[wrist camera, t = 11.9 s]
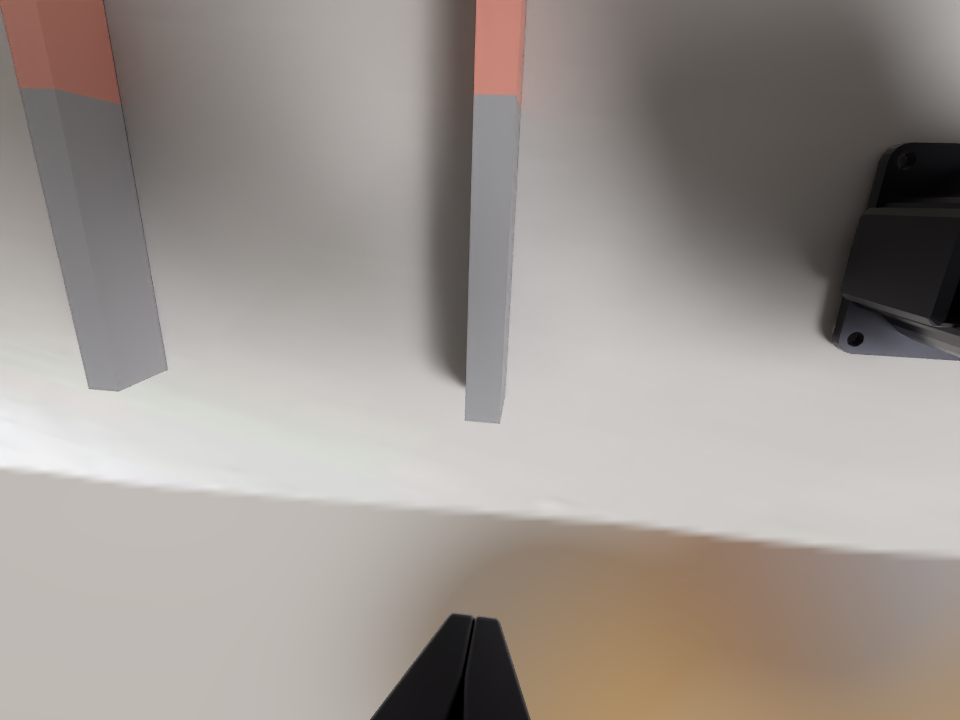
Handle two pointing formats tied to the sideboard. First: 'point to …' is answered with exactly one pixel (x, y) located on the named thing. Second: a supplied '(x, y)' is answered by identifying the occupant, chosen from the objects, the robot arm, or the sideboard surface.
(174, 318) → the sideboard surface
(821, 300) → the sideboard surface
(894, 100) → the sideboard surface
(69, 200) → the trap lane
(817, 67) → the sideboard surface
